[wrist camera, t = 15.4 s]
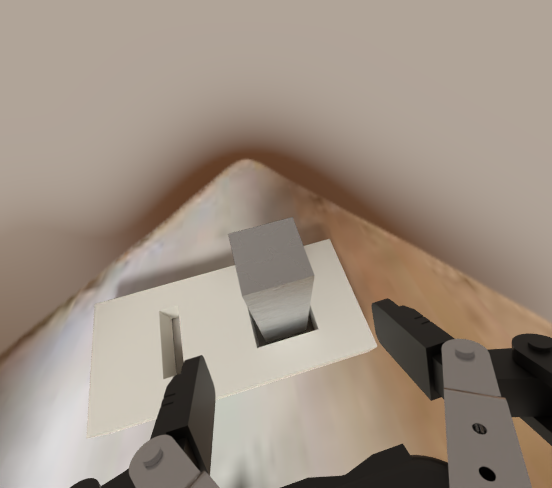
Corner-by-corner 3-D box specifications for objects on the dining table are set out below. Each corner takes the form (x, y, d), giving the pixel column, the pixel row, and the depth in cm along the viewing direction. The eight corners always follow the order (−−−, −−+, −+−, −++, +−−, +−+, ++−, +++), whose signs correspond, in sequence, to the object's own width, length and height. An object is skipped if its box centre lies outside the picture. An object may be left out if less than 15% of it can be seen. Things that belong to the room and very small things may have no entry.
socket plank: (109, 433, 23) (86, 438, 21) (112, 312, 29) (94, 304, 26) (369, 351, 25) (377, 346, 23) (326, 252, 31) (329, 238, 28)
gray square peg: (266, 342, 26) (241, 296, 14) (257, 304, 28) (228, 234, 16) (306, 331, 27) (314, 275, 15) (293, 293, 29) (292, 217, 16)
